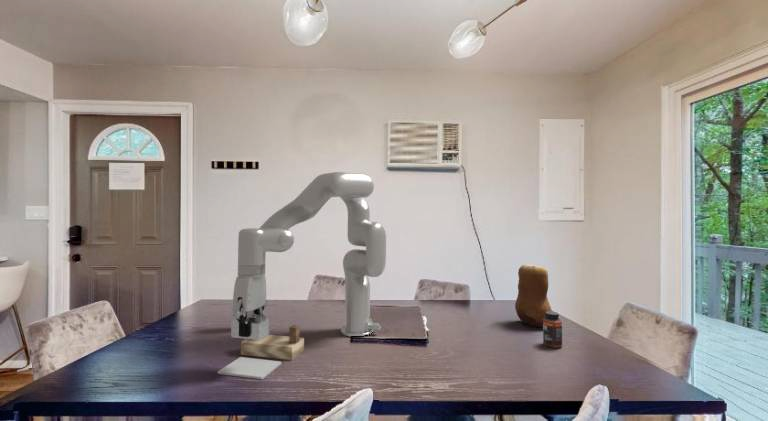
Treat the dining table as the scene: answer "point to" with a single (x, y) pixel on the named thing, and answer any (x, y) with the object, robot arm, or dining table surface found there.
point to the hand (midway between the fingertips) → (250, 332)
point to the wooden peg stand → (275, 345)
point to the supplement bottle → (552, 330)
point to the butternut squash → (532, 294)
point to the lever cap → (252, 327)
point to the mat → (250, 368)
